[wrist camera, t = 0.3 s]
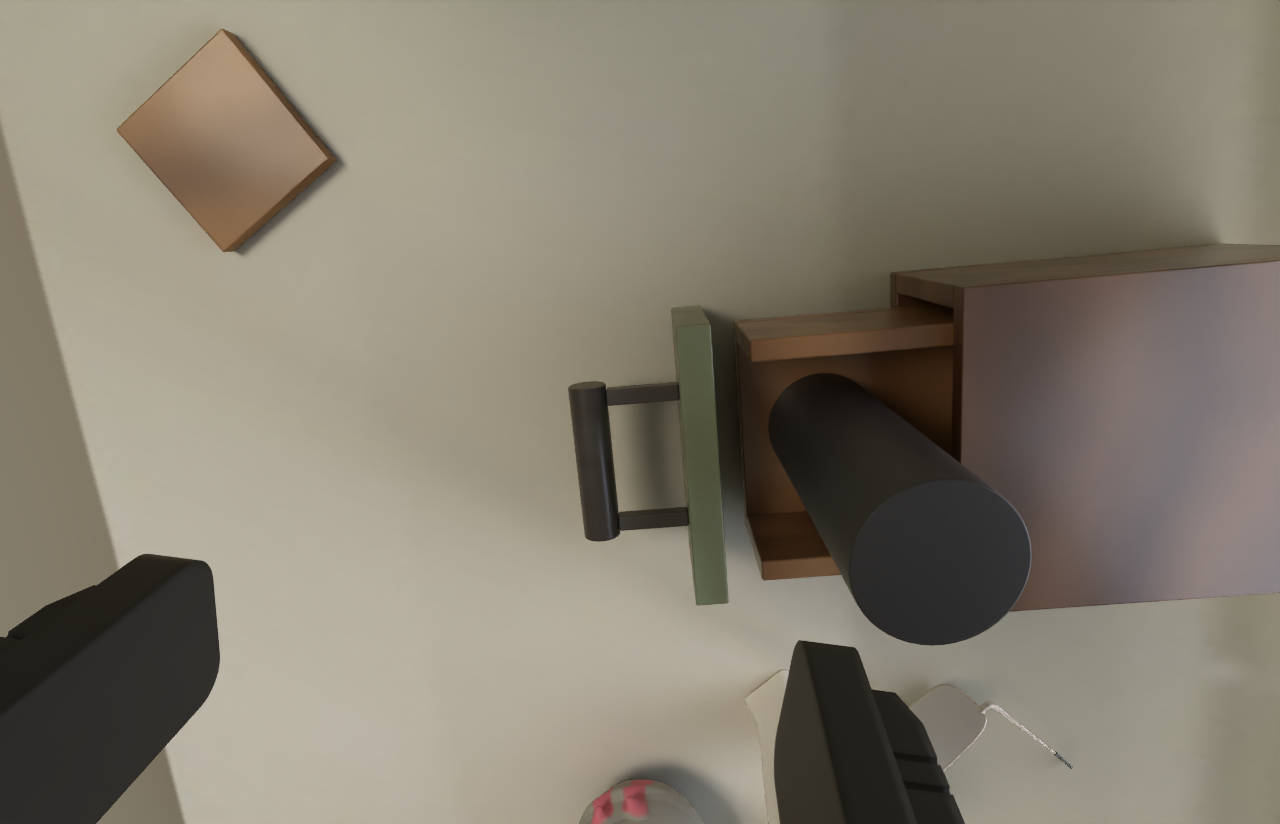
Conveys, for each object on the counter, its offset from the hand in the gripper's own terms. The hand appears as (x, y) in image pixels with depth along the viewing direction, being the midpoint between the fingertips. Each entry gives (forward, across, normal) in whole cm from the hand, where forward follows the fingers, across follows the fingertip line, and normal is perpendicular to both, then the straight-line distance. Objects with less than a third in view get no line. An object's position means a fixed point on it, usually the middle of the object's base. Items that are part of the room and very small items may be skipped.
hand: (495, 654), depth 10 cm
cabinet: (+23, -18, +1) cm, 30 cm away
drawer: (+22, -7, +3) cm, 23 cm away
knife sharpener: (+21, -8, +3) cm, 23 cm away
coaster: (+23, +17, -5) cm, 29 cm away
